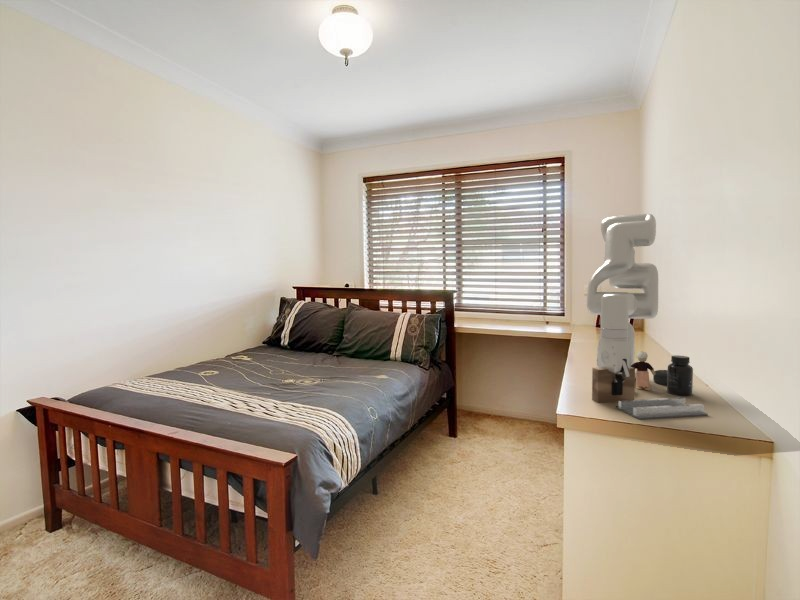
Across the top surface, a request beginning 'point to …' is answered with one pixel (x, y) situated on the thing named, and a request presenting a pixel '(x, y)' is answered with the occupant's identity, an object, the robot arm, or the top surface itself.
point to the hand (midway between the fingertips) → (613, 392)
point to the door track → (660, 408)
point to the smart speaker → (660, 377)
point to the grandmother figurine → (642, 371)
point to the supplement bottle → (680, 376)
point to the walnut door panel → (604, 386)
